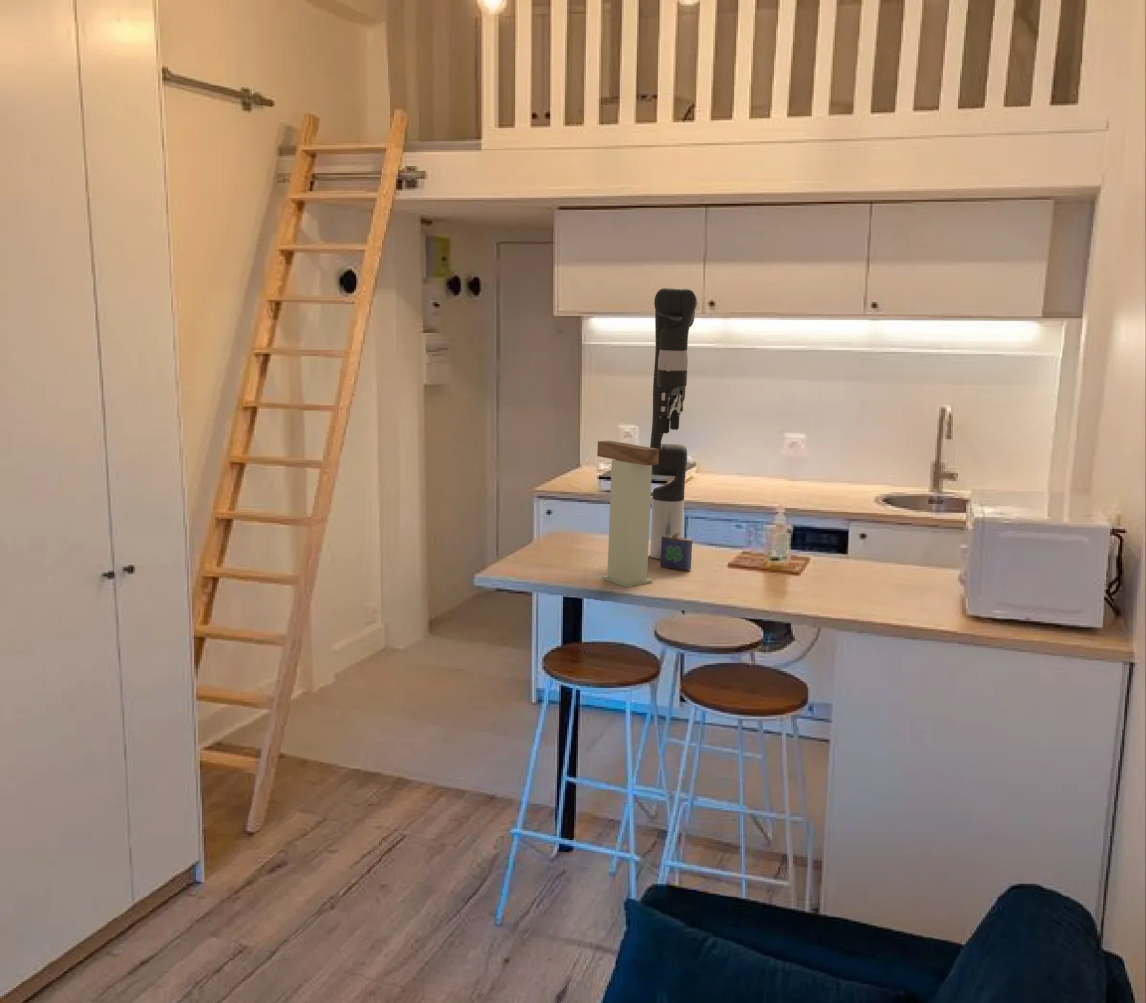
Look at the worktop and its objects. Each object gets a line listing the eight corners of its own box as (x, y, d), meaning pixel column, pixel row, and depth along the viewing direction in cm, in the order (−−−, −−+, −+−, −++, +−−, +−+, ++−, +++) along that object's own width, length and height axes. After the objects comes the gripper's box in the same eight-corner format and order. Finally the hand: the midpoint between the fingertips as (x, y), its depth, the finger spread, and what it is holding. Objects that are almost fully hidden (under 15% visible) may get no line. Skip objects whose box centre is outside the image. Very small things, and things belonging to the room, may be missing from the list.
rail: (608, 455, 274) (609, 440, 273) (658, 464, 258) (658, 449, 258) (597, 456, 272) (597, 441, 271) (646, 465, 256) (647, 449, 255)
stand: (627, 574, 276) (632, 457, 270) (652, 582, 268) (657, 462, 262) (602, 578, 270) (606, 459, 265) (626, 587, 262) (631, 464, 257)
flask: (692, 570, 283) (694, 532, 281) (688, 572, 280) (689, 534, 279) (662, 565, 287) (663, 528, 286) (657, 567, 285) (659, 530, 283)
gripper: (666, 366, 267) (663, 427, 270) (649, 368, 254) (647, 433, 257) (694, 367, 264) (691, 429, 267) (678, 370, 251) (675, 435, 254)
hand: (669, 431), depth 262 cm, fingers open, 8 cm apart
